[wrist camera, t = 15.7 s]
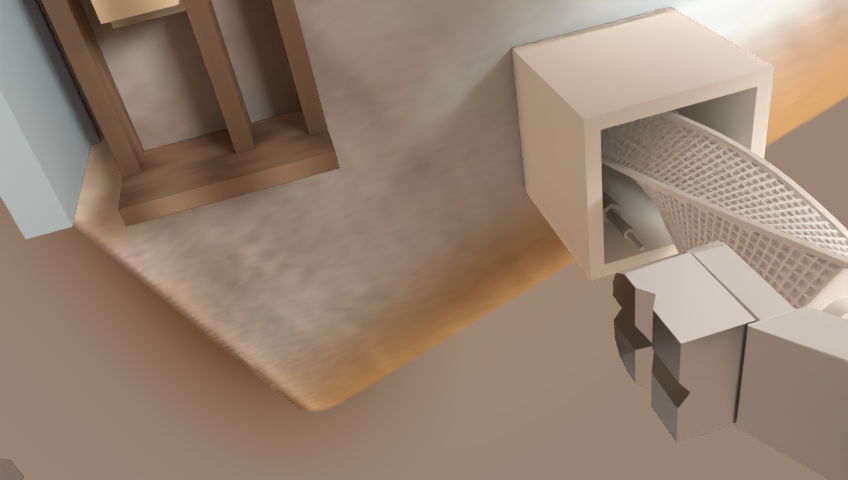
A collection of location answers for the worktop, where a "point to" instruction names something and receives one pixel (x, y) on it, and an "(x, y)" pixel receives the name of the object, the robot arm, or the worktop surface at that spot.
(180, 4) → the offcut long
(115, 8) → the offcut short
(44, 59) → the pale blue-grey board
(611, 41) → the open white box
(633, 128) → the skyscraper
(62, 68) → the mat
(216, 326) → the worktop surface
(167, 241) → the worktop surface
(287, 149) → the rack
